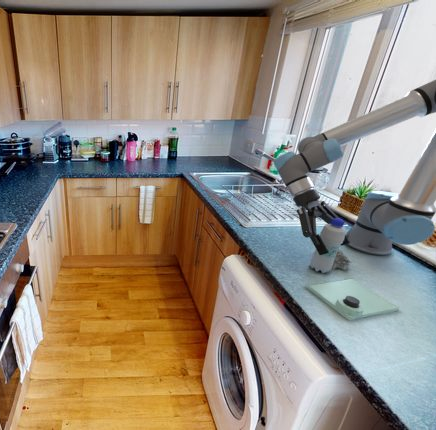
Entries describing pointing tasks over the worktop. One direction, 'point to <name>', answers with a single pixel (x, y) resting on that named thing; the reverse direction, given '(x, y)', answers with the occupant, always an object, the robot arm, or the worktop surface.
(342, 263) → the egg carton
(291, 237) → the worktop surface
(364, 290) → the scale
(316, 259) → the bottle
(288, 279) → the worktop surface
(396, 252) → the worktop surface
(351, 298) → the button
